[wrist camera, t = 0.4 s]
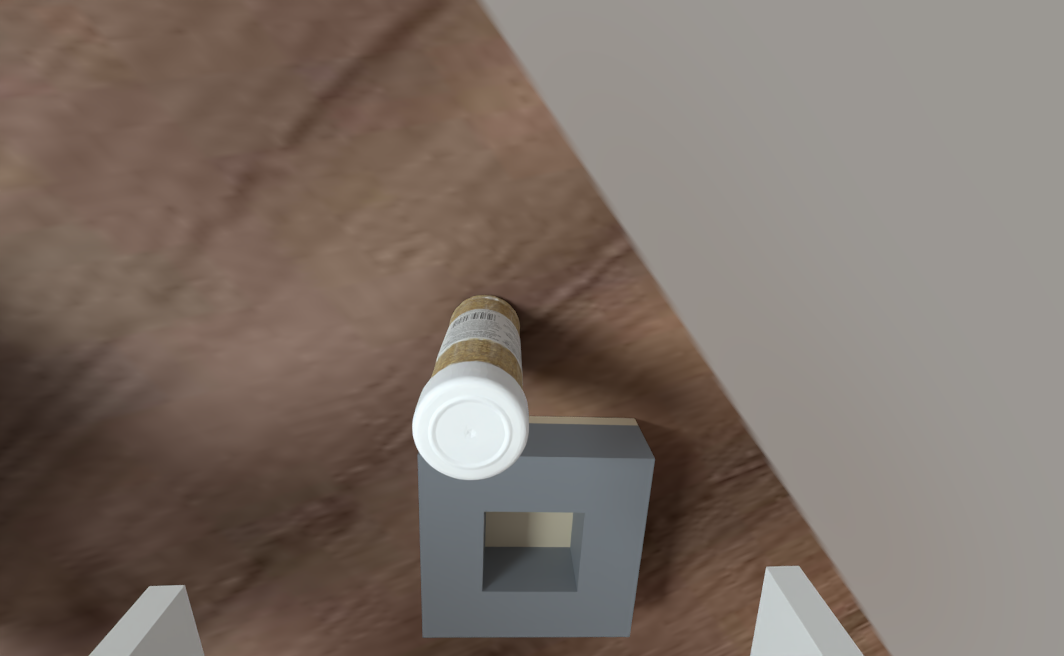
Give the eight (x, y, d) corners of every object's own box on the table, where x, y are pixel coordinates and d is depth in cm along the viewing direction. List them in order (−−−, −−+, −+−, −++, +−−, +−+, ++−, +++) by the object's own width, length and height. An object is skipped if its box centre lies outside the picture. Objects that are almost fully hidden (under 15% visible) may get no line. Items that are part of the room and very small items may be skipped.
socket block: (433, 578, 38) (422, 637, 33) (430, 413, 33) (417, 454, 29) (614, 578, 38) (629, 636, 34) (634, 418, 34) (654, 458, 29)
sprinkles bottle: (448, 356, 32) (407, 481, 19) (452, 288, 31) (411, 374, 18) (517, 362, 32) (523, 488, 20) (525, 295, 31) (536, 384, 18)
